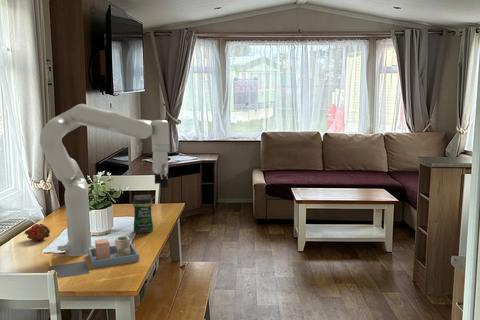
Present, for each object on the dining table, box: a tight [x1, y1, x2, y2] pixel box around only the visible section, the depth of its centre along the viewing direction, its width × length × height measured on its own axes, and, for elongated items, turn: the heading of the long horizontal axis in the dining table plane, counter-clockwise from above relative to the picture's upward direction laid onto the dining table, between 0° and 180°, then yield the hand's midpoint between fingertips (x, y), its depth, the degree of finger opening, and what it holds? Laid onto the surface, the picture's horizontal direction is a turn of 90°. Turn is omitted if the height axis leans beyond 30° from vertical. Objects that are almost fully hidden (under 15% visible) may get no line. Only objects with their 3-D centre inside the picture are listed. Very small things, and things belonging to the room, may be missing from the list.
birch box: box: [115, 235, 131, 257], centre depth 206 cm, size 5×5×8 cm
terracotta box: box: [94, 238, 110, 260], centre depth 203 cm, size 5×5×8 cm
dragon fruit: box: [24, 223, 51, 242], centre depth 231 cm, size 8×8×12 cm
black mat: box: [49, 260, 90, 279], centre depth 193 cm, size 14×14×1 cm
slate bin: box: [87, 242, 140, 269], centre depth 205 cm, size 19×16×4 cm
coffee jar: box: [132, 194, 154, 234], centre depth 243 cm, size 10×8×19 cm
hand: (161, 185), depth 220 cm, fingers open, 9 cm apart
